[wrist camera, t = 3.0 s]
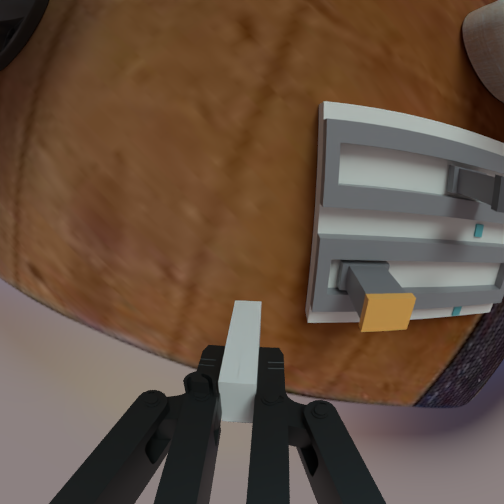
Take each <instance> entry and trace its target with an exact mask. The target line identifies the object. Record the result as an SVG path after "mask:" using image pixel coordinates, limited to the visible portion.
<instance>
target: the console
mask: <svg viewBox="0 0 504 504" xmlns="http://www.w3.org/2000/svg"><path fill="white" fill-rule="evenodd" d="M450 165H453V166H457V167H462V168H466V169H470V170H474V171H478V172H482V173H486V174H487V175H489V176H493V177H495V174H496V175H500V176H503V177H504V143H502V142H499V141H497V140H494V139H491V138H489V137H486V136H483V135H480V134H477V133H474V132H471V131H468V130H465V129H462V128H459V127H455V126H452V125H448V124H445V123H441V122H437V121H434V120H430V119H426V118H422V117H417V116H413V115H409V114H404V113H399V112H394V111H389V110H383V109H378V108H372V107H366V106H359V105H352V104H344V103H336V102H326V101H323V102H322V103H321V104H319V129H318V159H317V181H316V198H315V213H314V227H313V239H312V251H311V262H310V272H309V282H308V291H307V300H306V308H305V312H306V317H307V322H308V323H337V322H359V321H360V318H359V316H358V314H357V312H356V310H355V308H354V305H353V303H352V301H351V299H350V297H349V295H348V293H347V291H346V290H339V288H338V286H337V283H338V276H339V269H340V261H341V260H362V261H387V262H388V263H389V265H390V267H389V272H390V274H391V275H392V276H393V277H394V278H395V280H396V281H397V282H398V283H399V284H400V286H401V287H402V288H403V289H404V291H405V292H406V293H412V294H413V295H414V296H415V297H416V301H415V304H414V308H413V311H412V314H411V317H410V320H412V319H426V318H438V317H450V316H460V315H469V314H478V313H486V312H490V310H491V307H492V304H493V303H501V301H502V298H503V295H504V213H502V212H496V211H494V210H492V209H491V205H488V204H486V203H483V202H481V201H478V200H476V199H473V198H471V197H468V196H465V195H462V194H456V193H451V192H449V191H447V187H448V178H449V167H450Z"/></svg>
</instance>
